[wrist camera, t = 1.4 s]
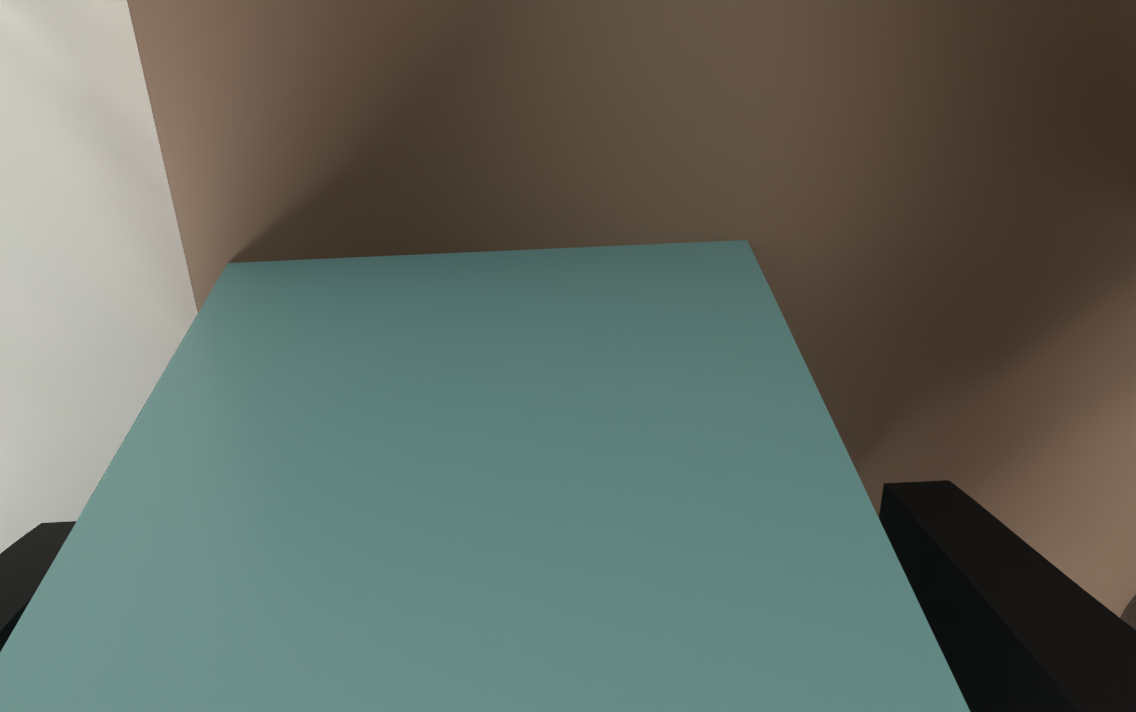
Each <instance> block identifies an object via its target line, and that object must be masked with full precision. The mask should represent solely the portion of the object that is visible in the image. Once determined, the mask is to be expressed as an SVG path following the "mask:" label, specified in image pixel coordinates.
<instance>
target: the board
mask: <svg viewBox="0 0 1136 712" xmlns="http://www.w3.org/2000/svg"><path fill="white" fill-rule="evenodd" d="M127 2H128V7H129V11H130V15H131V20H132V24H133V29H134V33H135V37H136V42H137V46H138V51H139V55H140V59H141V64H142V68H143V73H144V77H145V81H146V86H147V90H148V95H149V99H150V103H151V108H152V112H153V117H154V121H155V125H156V130H157V134H158V139H159V143H160V148H161V152H162V156H163V161H164V165H165V170H166V174H167V178H168V183H169V187H170V192H171V196H172V200H173V205H174V209H175V214H176V218H177V222H178V227H179V231H180V236H181V240H182V244H183V249H184V253H185V258H186V262H187V266H188V271H189V275H190V280H191V284H192V288H193V293H194V297H195V302H196V306H197V310H198V313H199V311H200V309H201V308H202V306H203V304H204V302H205V301H206V299H207V297H208V296H209V294H210V292H211V290H212V289H213V287H214V285H215V284H216V282H217V280H218V278H219V277H220V275H221V273H222V272H223V270H224V268H225V266H226V265H227V263H239V262H261V261H284V260H307V259H329V258H352V257H374V256H397V255H419V254H442V253H464V252H487V251H510V250H532V249H555V248H577V247H600V246H622V245H645V244H667V243H690V242H712V241H735V240H747V241H748V243H749V245H750V247H751V249H752V251H753V253H754V255H755V258H756V260H757V262H758V264H759V266H760V268H761V270H762V272H763V274H764V277H765V279H766V281H767V283H768V285H769V287H770V289H771V291H772V294H773V296H774V298H775V300H776V302H777V304H778V306H779V308H780V310H781V313H782V315H783V317H784V319H785V321H786V323H787V325H788V327H789V329H790V332H791V334H792V336H793V338H794V340H795V342H796V344H797V346H798V348H799V351H800V353H801V355H802V357H803V359H804V361H805V363H806V365H807V368H808V370H809V372H810V374H811V376H812V378H813V380H814V382H815V384H816V387H817V389H818V391H819V393H820V395H821V397H822V399H823V401H824V403H825V406H826V408H827V410H828V412H829V414H830V416H831V418H832V420H833V423H834V425H835V427H836V429H837V431H838V433H839V435H840V437H841V439H842V442H843V444H844V446H845V448H846V450H847V452H848V454H849V456H850V458H851V461H852V463H853V465H854V467H855V469H856V471H857V473H858V475H859V477H860V480H861V482H862V484H863V486H864V488H865V490H866V492H867V494H868V497H869V499H870V501H871V503H872V505H873V507H874V509H875V511H876V513H877V516H878V518H879V513H880V506H881V499H882V492H883V485H884V483H900V482H921V481H942V480H949V481H951V482H952V483H953V484H955V485H956V486H957V487H958V488H960V489H961V490H962V491H964V492H965V493H966V494H967V495H969V496H970V497H971V498H972V499H974V500H975V501H976V502H977V503H979V504H980V505H981V506H982V507H984V508H985V509H986V510H987V511H988V512H990V513H991V514H992V515H993V516H995V517H996V518H997V519H998V520H999V521H1001V522H1002V523H1003V524H1004V525H1005V526H1007V527H1008V528H1009V529H1010V530H1011V531H1013V532H1014V533H1015V534H1016V535H1018V536H1019V537H1020V538H1021V539H1022V540H1024V541H1025V542H1026V543H1027V544H1028V545H1030V546H1031V547H1032V548H1033V549H1035V550H1036V551H1037V552H1038V553H1039V554H1041V555H1042V556H1043V557H1044V558H1046V559H1047V560H1048V561H1049V562H1050V563H1052V564H1053V565H1054V566H1055V567H1057V568H1058V569H1059V570H1060V571H1061V572H1063V573H1064V574H1065V575H1066V576H1068V577H1069V578H1070V579H1071V580H1073V581H1074V582H1075V583H1076V584H1078V585H1079V586H1080V587H1081V588H1083V589H1084V590H1085V591H1086V592H1088V593H1089V594H1090V595H1091V596H1093V597H1094V598H1095V599H1096V600H1098V601H1099V602H1100V603H1102V604H1103V605H1104V606H1105V607H1107V608H1108V609H1109V610H1110V611H1112V612H1113V613H1114V614H1116V615H1117V616H1118V617H1119V618H1120V617H1121V615H1122V613H1123V611H1124V609H1125V608H1126V606H1127V605H1128V604H1129V602H1130V601H1131V599H1132V598H1133V597H1134V596H1135V595H1136V0H127Z"/></svg>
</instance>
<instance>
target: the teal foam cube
mask: <svg viewBox="0 0 1136 712" xmlns="http://www.w3.org/2000/svg"><path fill="white" fill-rule="evenodd" d="M0 712H970V710H969V708H968V706H967V704H966V702H965V700H964V697H963V695H962V693H961V691H960V689H959V687H958V685H957V683H956V681H955V678H954V676H953V674H952V672H951V670H950V668H949V666H948V664H947V661H946V659H945V657H944V655H943V653H942V651H941V649H940V647H939V645H938V642H937V640H936V638H935V636H934V634H933V632H932V630H931V628H930V626H929V623H928V621H927V619H926V617H925V615H924V613H923V611H922V609H921V607H920V604H919V602H918V600H917V598H916V596H915V594H914V592H913V590H912V587H911V585H910V583H909V581H908V579H907V577H906V575H905V573H904V571H903V568H902V566H901V564H900V562H899V560H898V558H897V556H896V554H895V552H894V549H893V547H892V545H891V543H890V541H889V539H888V537H887V535H886V532H885V530H884V528H883V526H882V524H881V522H880V520H879V518H878V516H877V513H876V511H875V509H874V507H873V505H872V503H871V501H870V499H869V497H868V494H867V492H866V490H865V488H864V486H863V484H862V482H861V480H860V477H859V475H858V473H857V471H856V469H855V467H854V465H853V463H852V461H851V458H850V456H849V454H848V452H847V450H846V448H845V446H844V444H843V442H842V439H841V437H840V435H839V433H838V431H837V429H836V427H835V425H834V423H833V420H832V418H831V416H830V414H829V412H828V410H827V408H826V406H825V403H824V401H823V399H822V397H821V395H820V393H819V391H818V389H817V387H816V384H815V382H814V380H813V378H812V376H811V374H810V372H809V370H808V368H807V365H806V363H805V361H804V359H803V357H802V355H801V353H800V351H799V348H798V346H797V344H796V342H795V340H794V338H793V336H792V334H791V332H790V329H789V327H788V325H787V323H786V321H785V319H784V317H783V315H782V313H781V310H780V308H779V306H778V304H777V302H776V300H775V298H774V296H773V294H772V291H771V289H770V287H769V285H768V283H767V281H766V279H765V277H764V274H763V272H762V270H761V268H760V266H759V264H758V262H757V260H756V258H755V255H754V253H753V251H752V249H751V247H750V245H749V243H748V241H747V240H735V241H712V242H690V243H667V244H645V245H622V246H600V247H577V248H555V249H532V250H510V251H487V252H464V253H442V254H419V255H397V256H374V257H352V258H329V259H307V260H284V261H261V262H239V263H227V265H226V266H225V268H224V270H223V272H222V273H221V275H220V277H219V278H218V280H217V282H216V284H215V285H214V287H213V289H212V290H211V292H210V294H209V296H208V297H207V299H206V301H205V302H204V304H203V306H202V308H201V309H200V311H199V313H198V314H197V316H196V318H195V320H194V321H193V323H192V325H191V326H190V328H189V330H188V332H187V333H186V335H185V337H184V338H183V340H182V342H181V344H180V345H179V347H178V349H177V350H176V352H175V354H174V356H173V357H172V359H171V361H170V362H169V364H168V366H167V368H166V369H165V371H164V373H163V374H162V376H161V378H160V380H159V381H158V383H157V385H156V386H155V388H154V390H153V392H152V393H151V395H150V397H149V398H148V400H147V402H146V403H145V405H144V407H143V409H142V410H141V412H140V414H139V415H138V417H137V419H136V421H135V422H134V424H133V426H132V427H131V429H130V431H129V433H128V434H127V436H126V438H125V439H124V441H123V443H122V445H121V446H120V448H119V450H118V451H117V453H116V455H115V457H114V458H113V460H112V462H111V463H110V465H109V467H108V469H107V470H106V472H105V474H104V475H103V477H102V479H101V481H100V482H99V484H98V486H97V487H96V489H95V491H94V493H93V494H92V496H91V498H90V499H89V501H88V503H87V505H86V506H85V508H84V510H83V511H82V513H81V515H80V517H79V518H78V520H77V522H76V523H75V525H74V527H73V529H72V530H71V532H70V534H69V535H68V537H67V539H66V541H65V542H64V544H63V546H62V547H61V549H60V551H59V553H58V554H57V556H56V558H55V559H54V561H53V563H52V565H51V566H50V568H49V570H48V571H47V573H46V575H45V577H44V578H43V580H42V582H41V583H40V585H39V587H38V589H37V590H36V592H35V594H34V595H33V597H32V599H31V601H30V602H29V604H28V606H27V607H26V609H25V611H24V613H23V614H22V616H21V618H20V619H19V621H18V623H17V625H16V626H15V628H14V630H13V631H12V633H11V635H10V636H9V638H8V640H7V642H6V643H5V645H4V647H3V648H2V650H1V652H0Z"/></svg>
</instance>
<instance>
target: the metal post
mask: <svg viewBox="0 0 1136 712" xmlns="http://www.w3.org/2000/svg"><path fill="white" fill-rule="evenodd" d="M1120 618H1121V619H1122V620H1123V621H1125V622H1126V623H1127V624H1129V625H1130V626H1131V627H1132V628H1134V629H1135V630H1136V595H1135V596H1134V597H1133V598H1132V599H1131V601H1130V602H1129V604H1128V605H1127V606H1126V608H1125V609H1124V611H1123V613H1122V615H1121V617H1120Z"/></svg>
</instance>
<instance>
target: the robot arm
mask: <svg viewBox="0 0 1136 712" xmlns="http://www.w3.org/2000/svg"><path fill="white" fill-rule="evenodd" d="M879 520H880V522H881V524H882V526H883V528H884V530H885V532H886V535H887V537H888V539H889V541H890V543H891V545H892V547H893V549H894V552H895V554H896V556H897V558H898V560H899V562H900V564H901V566H902V568H903V571H904V573H905V575H906V577H907V579H908V581H909V583H910V585H911V587H912V590H913V592H914V594H915V596H916V598H917V600H918V602H919V604H920V607H921V609H922V611H923V613H924V615H925V617H926V619H927V621H928V623H929V626H930V628H931V630H932V632H933V634H934V636H935V638H936V640H937V642H938V645H939V647H940V649H941V651H942V653H943V655H944V657H945V659H946V661H947V664H948V666H949V668H950V670H951V672H952V674H953V676H954V678H955V681H956V683H957V685H958V687H959V689H960V691H961V693H962V695H963V697H964V700H965V702H966V704H967V706H968V708H969V710H970V712H1136V630H1135V629H1134V628H1132V627H1131V626H1130V625H1129V624H1127V623H1126V622H1125V621H1123V620H1122V619H1121V618H1119V617H1118V616H1117V615H1116V614H1114V613H1113V612H1112V611H1110V610H1109V609H1108V608H1107V607H1105V606H1104V605H1103V604H1102V603H1100V602H1099V601H1098V600H1096V599H1095V598H1094V597H1093V596H1091V595H1090V594H1089V593H1088V592H1086V591H1085V590H1084V589H1083V588H1081V587H1080V586H1079V585H1078V584H1076V583H1075V582H1074V581H1073V580H1071V579H1070V578H1069V577H1068V576H1066V575H1065V574H1064V573H1063V572H1061V571H1060V570H1059V569H1058V568H1057V567H1055V566H1054V565H1053V564H1052V563H1050V562H1049V561H1048V560H1047V559H1046V558H1044V557H1043V556H1042V555H1041V554H1039V553H1038V552H1037V551H1036V550H1035V549H1033V548H1032V547H1031V546H1030V545H1028V544H1027V543H1026V542H1025V541H1024V540H1022V539H1021V538H1020V537H1019V536H1018V535H1016V534H1015V533H1014V532H1013V531H1011V530H1010V529H1009V528H1008V527H1007V526H1005V525H1004V524H1003V523H1002V522H1001V521H999V520H998V519H997V518H996V517H995V516H993V515H992V514H991V513H990V512H988V511H987V510H986V509H985V508H984V507H982V506H981V505H980V504H979V503H977V502H976V501H975V500H974V499H972V498H971V497H970V496H969V495H967V494H966V493H965V492H964V491H962V490H961V489H960V488H958V487H957V486H956V485H955V484H953V483H952V482H951V481H949V480H942V481H921V482H900V483H884V485H883V492H882V499H881V506H880V513H879ZM76 522H77V521H75V522H54V523H41V524H40V525H38V526H37V527H36V528H34V529H33V530H31V531H30V532H29V533H27V534H26V535H24V536H23V537H22V538H20V539H19V540H18V541H16V542H15V543H14V544H12V545H11V546H10V547H9V548H7V549H6V550H5V551H3V552H2V553H1V554H0V652H1V650H2V648H3V647H4V645H5V643H6V642H7V640H8V638H9V636H10V635H11V633H12V631H13V630H14V628H15V626H16V625H17V623H18V621H19V619H20V618H21V616H22V614H23V613H24V611H25V609H26V607H27V606H28V604H29V602H30V601H31V599H32V597H33V595H34V594H35V592H36V590H37V589H38V587H39V585H40V583H41V582H42V580H43V578H44V577H45V575H46V573H47V571H48V570H49V568H50V566H51V565H52V563H53V561H54V559H55V558H56V556H57V554H58V553H59V551H60V549H61V547H62V546H63V544H64V542H65V541H66V539H67V537H68V535H69V534H70V532H71V530H72V529H73V527H74V525H75V523H76Z"/></svg>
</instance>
